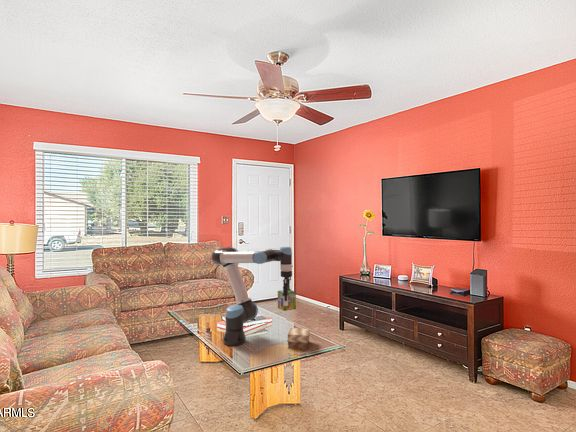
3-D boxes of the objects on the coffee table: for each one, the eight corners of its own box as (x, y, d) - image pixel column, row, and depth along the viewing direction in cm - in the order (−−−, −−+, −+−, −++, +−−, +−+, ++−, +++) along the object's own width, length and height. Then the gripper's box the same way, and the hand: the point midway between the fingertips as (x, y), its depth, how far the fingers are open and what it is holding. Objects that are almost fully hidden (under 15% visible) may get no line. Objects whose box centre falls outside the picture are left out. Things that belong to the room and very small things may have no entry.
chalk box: (284, 311, 226) (284, 288, 226) (277, 308, 233) (276, 285, 233) (296, 309, 230) (296, 286, 230) (289, 306, 238) (288, 284, 238)
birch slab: (287, 341, 226) (287, 334, 226) (290, 334, 239) (290, 328, 239) (307, 342, 225) (308, 335, 225) (309, 335, 238) (309, 329, 238)
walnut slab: (288, 349, 226) (288, 342, 226) (289, 341, 239) (289, 335, 239) (308, 349, 225) (308, 342, 225) (308, 342, 238) (308, 335, 238)
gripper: (290, 273, 219) (291, 308, 219) (293, 267, 244) (293, 298, 244) (278, 273, 220) (279, 308, 220) (282, 267, 244) (283, 298, 244)
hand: (286, 303), depth 232 cm, fingers closed on chalk box, 12 cm apart
